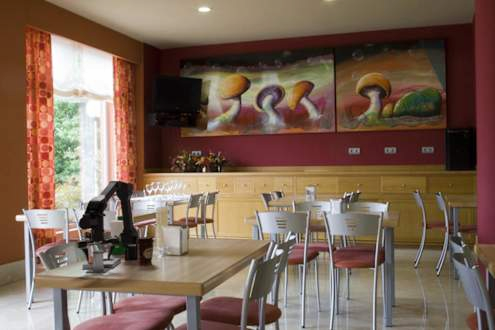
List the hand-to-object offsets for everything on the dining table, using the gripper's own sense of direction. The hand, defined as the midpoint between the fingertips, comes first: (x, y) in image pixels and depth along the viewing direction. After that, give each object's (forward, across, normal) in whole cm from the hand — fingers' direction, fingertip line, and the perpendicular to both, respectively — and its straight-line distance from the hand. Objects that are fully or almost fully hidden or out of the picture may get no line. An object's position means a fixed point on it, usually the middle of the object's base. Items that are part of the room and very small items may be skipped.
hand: (98, 261), depth 248 cm
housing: (+4, -5, -13) cm, 14 cm away
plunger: (+3, 0, -10) cm, 11 cm away
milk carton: (+5, -22, -42) cm, 48 cm away
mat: (+4, 0, 0) cm, 4 cm away
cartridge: (+4, 0, 0) cm, 4 cm away
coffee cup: (+5, -23, -2) cm, 24 cm away
